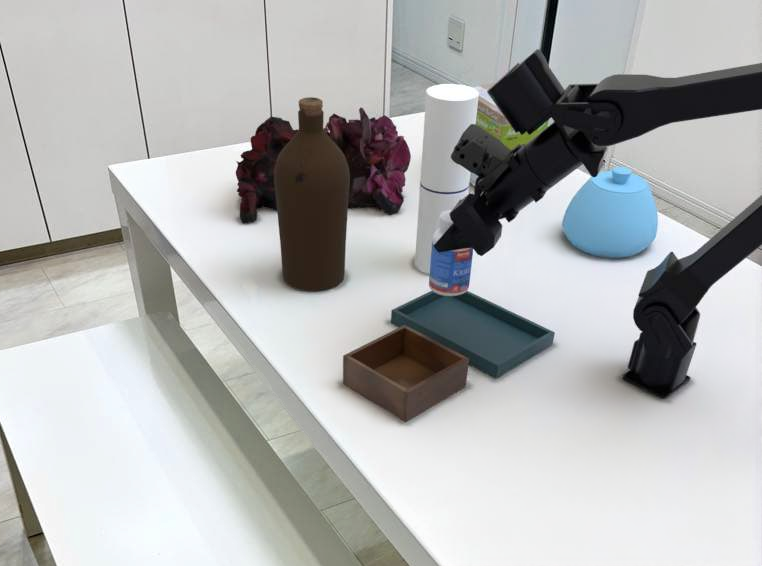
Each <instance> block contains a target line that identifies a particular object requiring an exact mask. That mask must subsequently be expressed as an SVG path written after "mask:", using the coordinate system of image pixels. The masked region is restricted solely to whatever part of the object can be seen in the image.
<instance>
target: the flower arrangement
mask: <svg viewBox="0 0 762 566" xmlns="http://www.w3.org/2000/svg"><path fill="white" fill-rule="evenodd" d="M358 112H359V119H348V121H347V119H346V117H343V116H340V115H338V114H336V113H332V115H330V116H329V117H328V122H326V124H325V127H323V129H324V131H325V133H326V134H327V135H328V136H329V137H330V138H331V140H332V141H333V142H334V143H335V144H336V145H337V146H338V147H339V148H340V150H341V151H342V152H343V154H344V156H345V158H346V160H347V163H348V167H349V172H350V184H349V198H348V210H349V209H351V210H352V209H376V210H379V211H383V212H384V213H385V214H387V215H389V216H391V215H395V214H398V213H399V211H400V210H401V208H402V205H403V203H404V201H405V198H404V195H403V194H402V193H403V191H404V189H403V188H404V187H405V186H406V172H407V171H408V169H409V167H410V163H411V158H412V154H411V151H410V147H409V145H408V143H407V140H406V139H405V136H404V135H399V131H397V126H396V125H395V123H394V121H393V119H391V117H389V116H387V115H381V116H379V117H378V118H376V117H371V118H370V117H369V115H368V114H367V113H366V110H365V109H364V107H359V109H358ZM298 130H299V128H297V129H294V128H293V126H292V124H291V122H290V121H289V120H287V119H286V120H285V119H283V118H282V117H278V116H270V117H268V118H267V119H265V121H264V122H262V123H261V124H260V125H258V127H256V130H255V132H254V133H255V134H254V135H253V136H251V137H250V145H251V146H250V147H251V149H250V150H245V151H242V153H241V154H240V158H241V159H242V160H241V161H237V160H236V161H235V162H236V164H237V167H236V170H235V176H236V179H237V183H236V184H237V189H236V192H237V195H238V196H239V197H240V198H241V201H240V203H239V204H240V205H239V220H240V222H241V223H242V224H249V223H254V222H256V221H257V220H258V210H259V209H262V208H265V209H269V210H274V211H277V203H276V194H275V184H274V169H275V164H276V161H277V158H278V155H279V154H280V152H281V151H282V149H283V148H284V147H285V146H286V145H287V143H288V142H289V141H290V140H291V139H292V138H293V137H294V136H295V134H296V133H297V132H298Z"/></svg>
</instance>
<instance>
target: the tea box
mask: <svg viewBox="0 0 762 566" xmlns="http://www.w3.org/2000/svg"><path fill="white" fill-rule="evenodd" d="M495 83H496V82H494V83H487V84H482V85H481V84H480V85H475V86H471V87H472V88H474V89H476V90H477V91H478V92H479V97H478V106H477V116H476V125H478V126H479V127H481V128H482V129H484V130H485V131H487V132H488V133H490V134H491V135H493V136H494V137H496V138H497V139H498V140H500V141H501V142H502V143H503V144H504V145H505V146H506V147H508V148H509V149H510V150H512V149H513V148H515V147H516V146H517V145H518V144H520V145H522V144H525V145H526V144H527V143H528V142H530V141H531V140H532V139H533V138H535V137H536V136H537V135H538V134H540V133H541V132H542V131H543V130H545V129H546V128H547V127H548V126H549V121H550V119H549V120H548V121H546V122H545V123H544V124H543V125H542V126H541V127H539V128H538V129H537V130H536V131H534V132H533V133H531V134H530V135H529V134H528V133H527V132H525V133H524V134H523V135H521V134H520V132H517V133H515V131H514V130H513V128H512V127H511V126H510V124H509V123H508V121H507V120H506V118H505V117H504V116H503V114H502V113H501V111H500V110H499V109H498V107H497V106H496V104H495V103H494V101H493V100H492V99H491V97H490V96H489V94H488V93H487V91H488V90H489V89H490V88H491V87H492V86H493V85H494V84H495ZM477 178H478V176H477V175H476V174H474V173H471V172H470V181H469V184H471V185H472V186H473V187H475V182H476V179H477Z"/></svg>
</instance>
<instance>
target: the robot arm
mask: <svg viewBox="0 0 762 566" xmlns="http://www.w3.org/2000/svg"><path fill="white" fill-rule="evenodd" d="M494 83H495V84H494V85H493V86H492V87H491V88H490V89H489V90H488V91H487V93H488V94H489V96H490V97H491V99H492V100H493V101H494V103H495V104H496V106H497V107H498V109H499V110H500V111H501V113H502V114H503V116H504V117H505V118H506V120H507V121H508V123H509V124H510V126H511V127H512V128H513V130H514V131H515V133H517V132H520V134H521V135H523V134H524V133H525V132H527V133H528V134H529V135H530V134H531V133H533V132H534V131H536V130H537V129H538V128H539V127H541V126H542V125H543V124H544V123H545V122H546V121H548V120H549V121H550V120H551V119H552V121H553V122H552V123H551V124H549V125H548V127H547V128H546V129H545V130H543V131H542V132H541V133H540V134H538V135H537V136H536V137H535V138H533V139H532V140H531V141H530V142H528V143H527V144H526V145H525V144H522V145H520V144H518V145H517V146H516V147H515V148H513V149H512V150H510V149H509V148H508V147H506V146H505V145H504V144H503V143H502V142H501V141H500V140H498V139H497V138H496V137H494V136H493V135H491V134H490V133H488V132H487V131H485V130H484V129H482V128H481V127H479V126H478V125H475V124H471V125H470V126H469V127H468V128H467V129H466V130H465V131H464V132H463V134H462V136H461V138H460V140H459V141H458V143H457V145H456V146H455V148H454V151H453V152H452V154H451V159H452V160H453V161H454V162H455V163H456V164H458V165H461V166H462V167H464V168H465V169H467V170H468V171H470V172H471V173H474V174H476V175H477V176H478V178H477V179H476V182H475V186H474V191H473V192H474V193H468V195H467V196H466V197H465V198H463V199H462V200H461V199H460V201H459V202H458V203H457V204H456V206H455V207H454V208H453V210H452V211H451V212H450V218H451V220H452V222H453V224H452V225H451V226H450V227H449V228H448V229H447V230H446V232H445V233H444V234H443V235H442V236H441V237H440V239H439V240H438V241H437V242H436V243H435V244H434V248H435V249H436V251H437V252H439V253H440V252H446V251H452V250H458V249H465V248H473V251H474V252H475V254H477V255H478V256H481V257H483V256H485V254H487V253H488V252H490V251H491V250H492V249H494V248H495V247H496V245H497V243H498V242H499V240H500V239H501V237H502V233H503V224H502V223H501V221H500V220H503V219H505V220H506V221H507V222H508V223H510V222H512V221H514V219H516V218H517V216H518V215H519V213H520V211H522V210H523V209H525V208H527V206H529V205H530V204H531V203H533V202H535V203H537V202H539V201H541V200H542V199H543V198H544V197H545V195H546V194H547V191H550V189H551V188H553V187H554V186H556V185H558V183H560V182H561V181H562V180H564V179H565V178H567V177H568V176H569V175H571V174H572V173H573V172H575V171H576V170H577V169H579V168H580V167H581V166H582V165H583V166H584V167H585V169H586V170H587V172H588V173H589V175H590V176H591V177H596V176H597V175H598V173H600V172H601V170H602V168H603V166H604V158H605V155H606V152H607V151H608V147H611V146H614V145H617V144H621V143H624V142H626V141H629V140H632V139H636V138H639V137H642V136H643V135H645V134H648V133H649V132H650V133H651V132H652V131H654V130H656V129H658V128H660V127H665V126H667V125H670V124H673V123H680V122H686V121H687V122H688V121H693V120H694V121H695V120H701V119H706V118H707V119H708V118H714V117H720V116H727V115H733V114H741V113H746V112H752V111H753V112H754V111H761V110H762V62H759V63H753V64H748V65H742V66H736V67H729V68H725V69H719V70H712V71H706V72H701V73H694V74H689V75H684V76H677V77H662V76H656V75H651V74H623V73H621V74H612V75H609V76H607V77H605V78H603V79H602V80H601V81H600V82H598V83H573V84H572V83H571V84H568V85H567V87H565V88H564V86H563V85H562V84H561V82H560V80H559V79H558V77H557V76H556V75H555V73H554V72H553V70H552V69H551V68H550V66H549V64H548V61H547V58H546V56H545V54H543V52H542V51H541V49H539V48H536V50H534V51H533V52H532V53H531V54H530V55H528V56H527V57H526V58H525V59H523V60H522V61H521V62H517V63H516V64H515V65H514V66H513V67H511V69H509V70H508V71H507V72H506V73H505V74H504V75H503V76H502V77H500V78H499V79H498V80H497V81H496V82H494ZM549 121H548V122H549ZM761 246H762V194H760V196H758V198H756V199H755V200H754V201H752V203H750V204H749V205H747V207H746V208H744V209H743V210H742V211H741V212H740V213H739V214H738V215H736V216H735V217H734V218H733V219H732V220H730V221H729V222H728V223H727V224H725V226H724V227H722V228H721V229H720V230H719V231H717V233H715V234H714V235H713V236H711V238H709V240H707V241H706V242H705V243H704V244H703V245H701V246H700V247H699V248H698V249H696V251H694V252H693V253H691V254H690V255H687V256H684V257H682V258H678V257H677V256H676V254H675V253H674V252H673V251H670V252H669V253H668V254H667V255H666V256H665V257H664V259H663V260H662V261H661V263H660V264H659V265H657V266H655V267H654V268H651V269H648V270H647V271H646V274H645V276H644V279H643V282H642V284H641V286H640V290H639V292H638V297H637V300H636V303H635V305H634V308H633V311H632V318H633V321H634V325H635V326H636V328H638V330H639V331H640V334H639V337H638V339H636V340H635V341H634V342H633V346H632V348H631V353H630V356H629V360H628V364H627V371H626V372H625V373H623V374H622V378H621V379H622V380H623V381H625V382H627V383H629V384H631V385H633V386H635V387H637V388H640V389H641V390H643V391H646V392H647V393H650V394H652V395H654V396H656V397H657V398H660V399H663V400H664V399H667V398H669V397H671V395H673V394H674V393H676V392H677V391H679V390H680V389H682V388H683V387H684V386H685V385H687V384H688V383H689V382H690V381H691V377H690V375H687V374H688V371H689V368H690V365H691V362H692V360H693V356H694V354H695V350H696V348H697V342H695V337H696V333H697V329H698V326H699V323H700V318H701V313H700V311H699V309H698V308H697V306H698V305H699V304H700V302H701V301H702V299H703V298H704V297H705V295H707V293H708V292H709V290H710V289H711V288H712V287H713V285H715V284H716V283H717V282H718V281H719V280H721V279H722V278H723V277H724V276H726V275H727V274H728V273H729V272H730V271H732V270H733V269H734V268H735V267H737V266H739V264H741V262H743V261H744V260H746V259H747V258H748V257H749V256H750V255H751V254H753V253H754V252H755V251H757V249H759V248H760V247H761Z"/></svg>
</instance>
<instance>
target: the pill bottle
mask: <svg viewBox="0 0 762 566" xmlns="http://www.w3.org/2000/svg"><path fill="white" fill-rule="evenodd" d="M451 211H452V210H448V211H444V212H442V213H441V214H440V220H439V227H440V228H439V229H438V230H436V231H435V232H434V234H433V238H432V250H431V262H430V274H428V287H429V289H430V291H433V292H435V293H437V294H439V295H443V296H457V295H461V294H463V293H465V292H466V291H469V288H470V282H471V274H472V265H473V257H474V249H473V248H465V249H458V250H452V251H446V252H440V253H439V252H437V251H436V249H435V248H434V244H435V243H436V242H437V241H438V240H439V239H440V237H441V236H442V235H443V234H444V233H445V232H446V230H447V229H448V228H449V227H450V226H451V225H452V224H453V222H452V220H451V218H450V212H451Z"/></svg>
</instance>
